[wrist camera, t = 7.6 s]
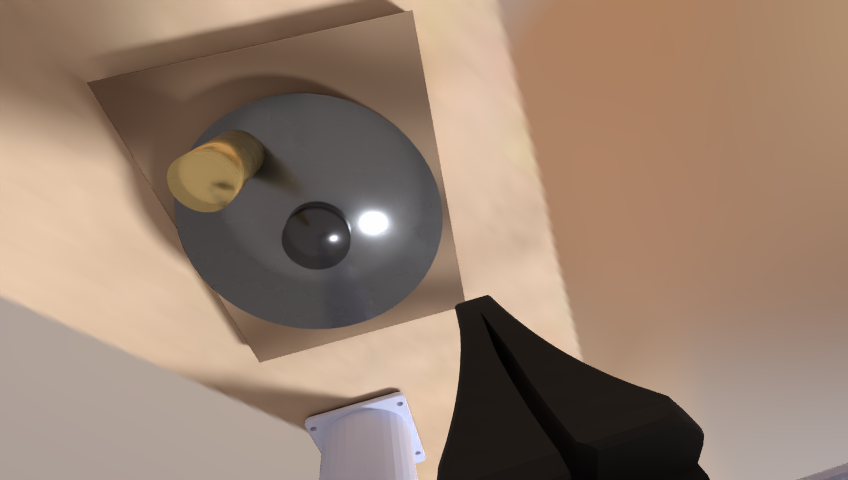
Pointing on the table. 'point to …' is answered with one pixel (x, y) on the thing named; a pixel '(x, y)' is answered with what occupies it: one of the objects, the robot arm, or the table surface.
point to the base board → (276, 74)
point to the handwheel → (307, 210)
